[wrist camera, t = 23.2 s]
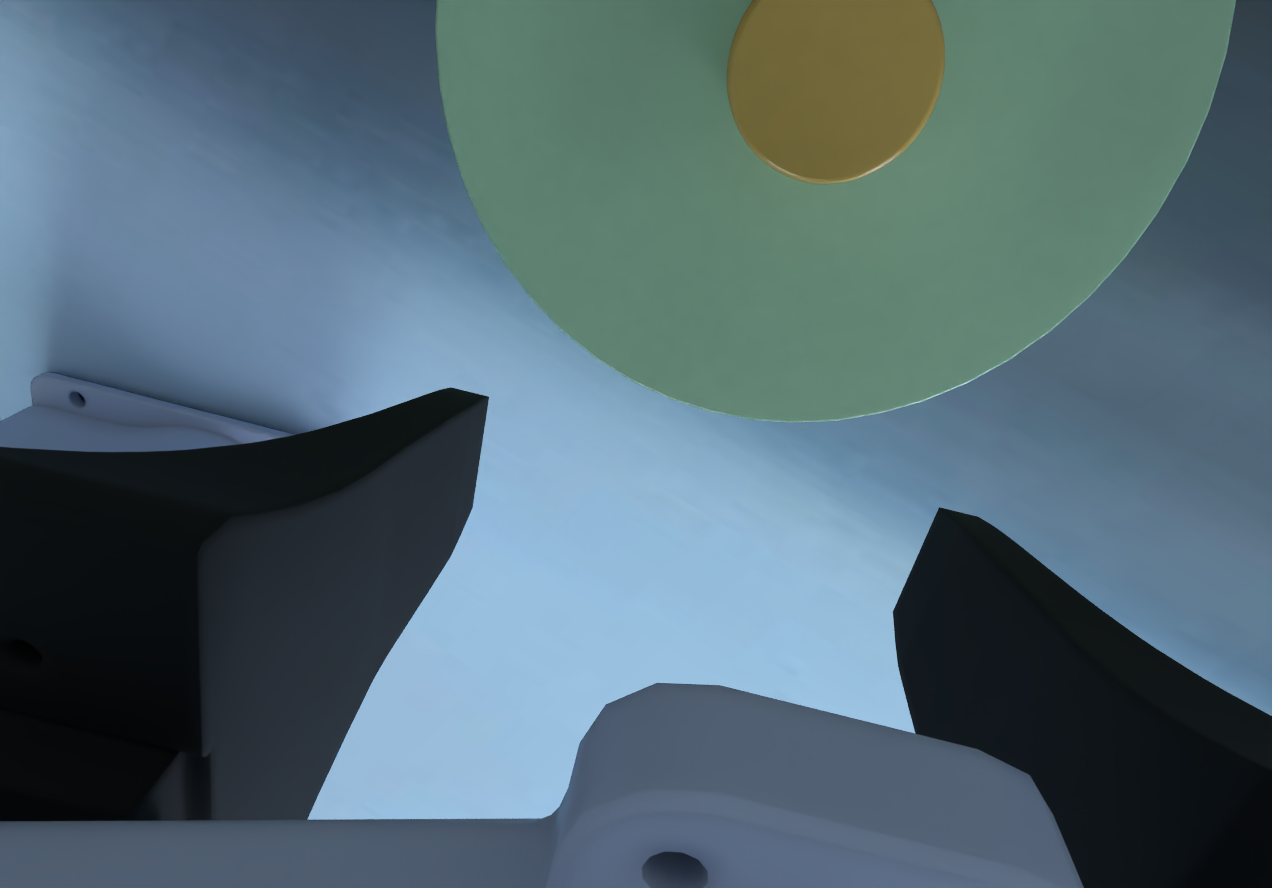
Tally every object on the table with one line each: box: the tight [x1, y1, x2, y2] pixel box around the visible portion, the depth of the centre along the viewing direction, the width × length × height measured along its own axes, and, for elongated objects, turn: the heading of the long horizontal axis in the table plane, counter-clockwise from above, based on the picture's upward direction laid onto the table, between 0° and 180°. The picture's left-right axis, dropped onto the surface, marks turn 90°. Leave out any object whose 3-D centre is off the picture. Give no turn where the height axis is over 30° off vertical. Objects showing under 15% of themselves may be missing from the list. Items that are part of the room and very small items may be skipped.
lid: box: [435, 0, 1236, 422], centre depth 12 cm, size 12×12×5 cm
